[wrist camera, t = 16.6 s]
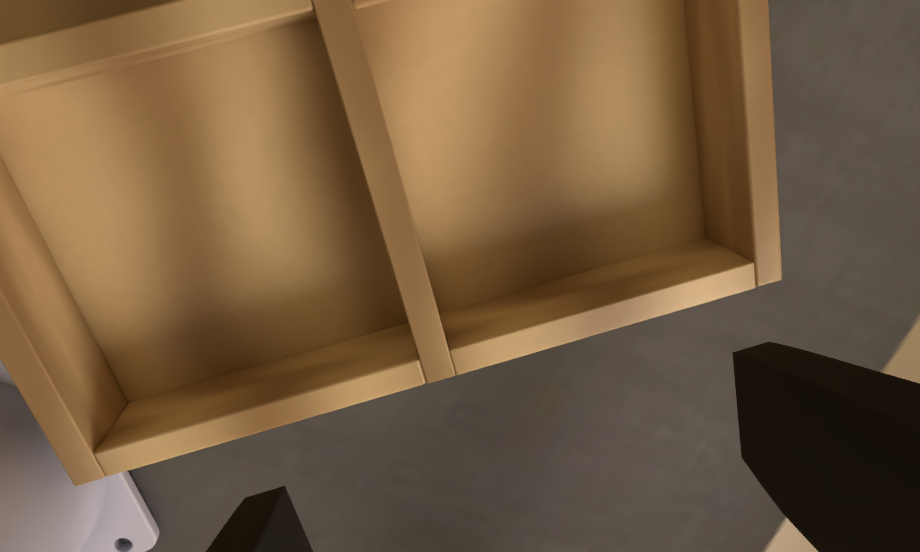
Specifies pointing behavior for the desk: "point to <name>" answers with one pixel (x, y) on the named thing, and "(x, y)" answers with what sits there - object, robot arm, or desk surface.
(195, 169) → the compartment tray
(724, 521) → the desk surface
